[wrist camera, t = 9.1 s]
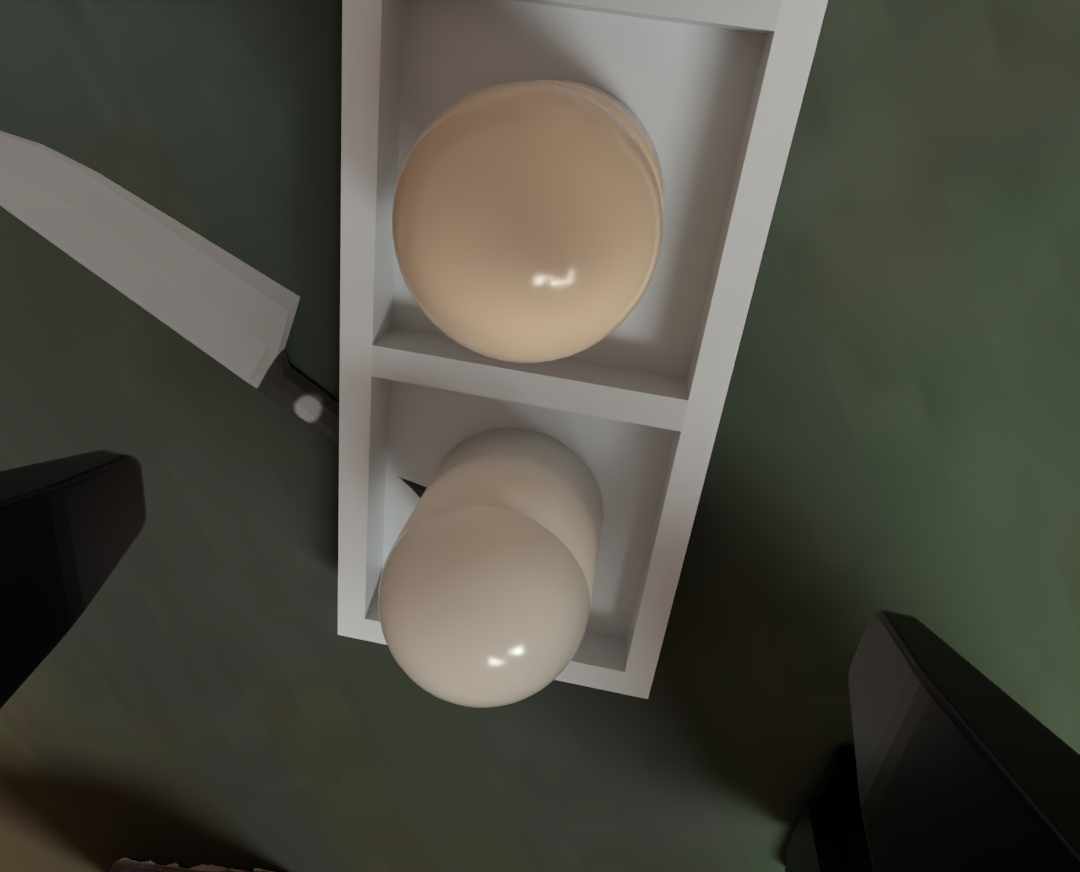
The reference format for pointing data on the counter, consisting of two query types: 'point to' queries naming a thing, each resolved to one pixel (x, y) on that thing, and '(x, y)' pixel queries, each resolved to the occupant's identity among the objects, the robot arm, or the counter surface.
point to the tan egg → (529, 218)
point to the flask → (168, 867)
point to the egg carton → (622, 356)
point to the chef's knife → (166, 272)
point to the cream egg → (494, 570)
